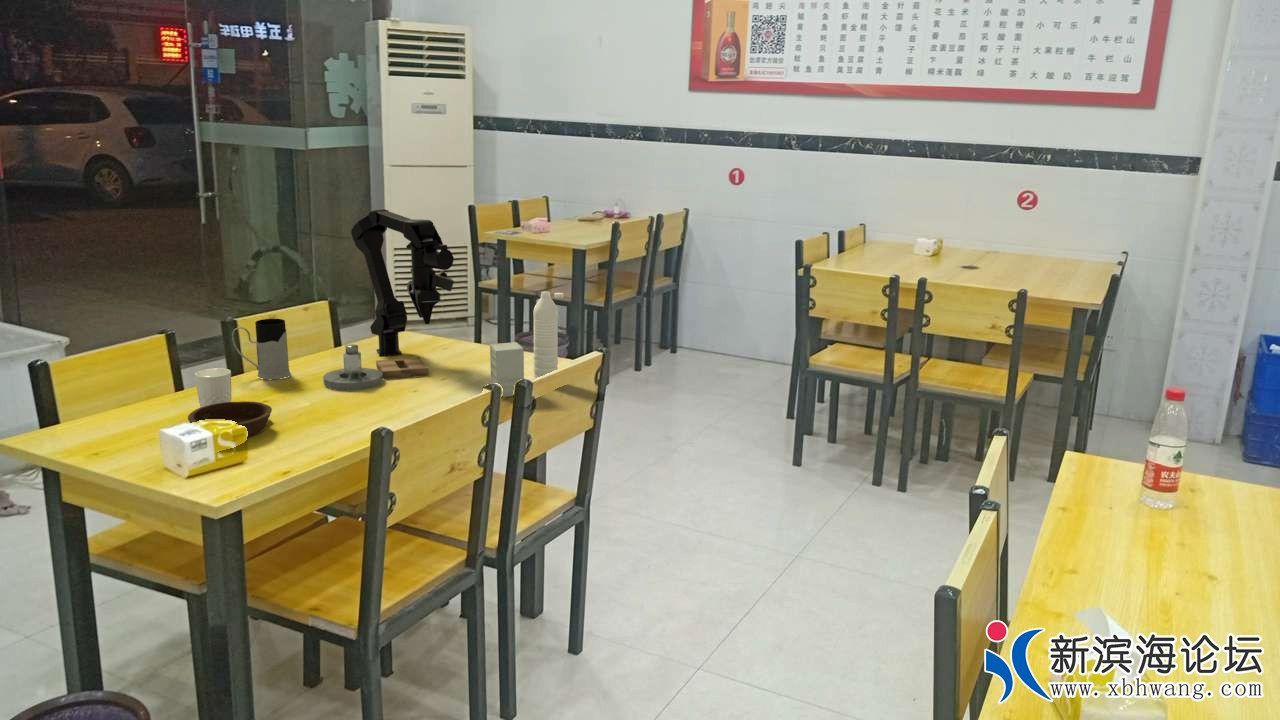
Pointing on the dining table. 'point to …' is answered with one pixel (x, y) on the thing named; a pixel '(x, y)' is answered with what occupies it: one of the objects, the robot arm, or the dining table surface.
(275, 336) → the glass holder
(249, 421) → the dish
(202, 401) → the white cup
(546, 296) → the water bottle
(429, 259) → the robot arm
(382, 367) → the block
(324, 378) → the round bore
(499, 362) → the supplement box
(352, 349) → the grey small bottle
